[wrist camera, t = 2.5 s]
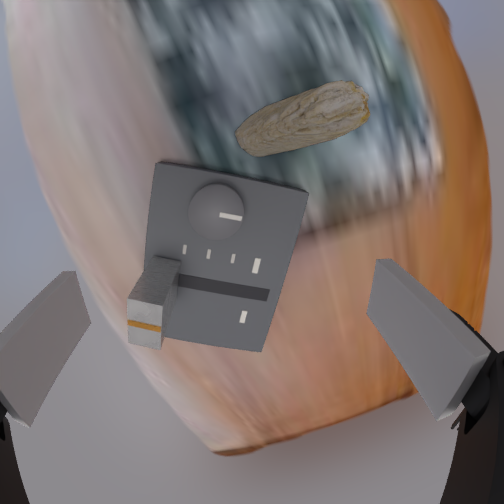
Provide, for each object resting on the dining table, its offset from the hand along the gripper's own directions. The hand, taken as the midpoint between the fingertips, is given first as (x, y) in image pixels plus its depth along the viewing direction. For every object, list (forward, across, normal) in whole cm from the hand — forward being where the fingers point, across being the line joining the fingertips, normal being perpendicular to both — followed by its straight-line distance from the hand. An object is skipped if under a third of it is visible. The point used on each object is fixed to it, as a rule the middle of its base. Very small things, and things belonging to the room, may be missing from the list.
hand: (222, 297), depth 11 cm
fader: (+21, -9, -10) cm, 25 cm away
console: (+24, -2, -9) cm, 26 cm away
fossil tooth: (+24, +8, +9) cm, 27 cm away
